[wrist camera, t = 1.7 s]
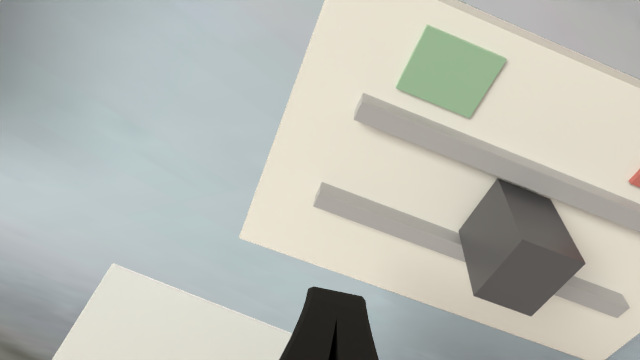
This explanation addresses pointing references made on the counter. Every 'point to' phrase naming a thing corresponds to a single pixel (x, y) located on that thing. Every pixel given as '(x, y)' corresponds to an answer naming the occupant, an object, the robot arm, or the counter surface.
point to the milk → (164, 325)
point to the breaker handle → (517, 249)
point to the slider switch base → (456, 162)
